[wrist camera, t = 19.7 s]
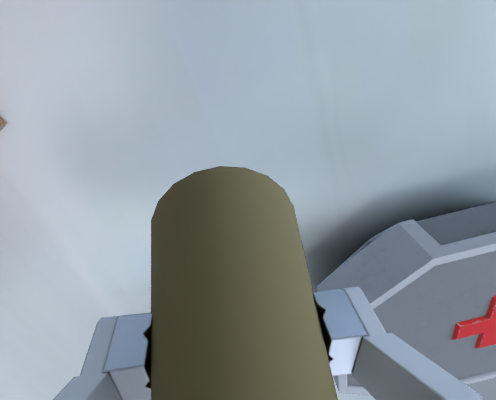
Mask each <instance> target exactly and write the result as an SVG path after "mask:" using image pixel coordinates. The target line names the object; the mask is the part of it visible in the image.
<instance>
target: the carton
mask: <svg viewBox="0 0 496 400" xmlns="http://www.w3.org/2000/svg"><path fill="white" fill-rule="evenodd" d="M6 124H7V122H5V121H4V120H3V119H1V118H0V131H1V130H2V128H3V127H4V126H5V125H6Z"/></svg>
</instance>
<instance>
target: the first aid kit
mask: <svg viewBox="0 0 496 400" xmlns="http://www.w3.org/2000/svg"><path fill="white" fill-rule="evenodd" d="M350 287H359V288H360V289H361V290H362V291H363V293H364V295H365V296H366V298H367V300H368V302H369V303H370V305H371V307H372V309H373V310H374V312H375V314H376V315H377V317H378V319H379V321H380V322H381V324H382V326H383V328H384V329H385V331H386V333H393V334H394V335H396V336H397V337H398V338H400V339H401V340H403V341H404V342H406V343H407V344H408V345H410V346H411V347H413V348H414V349H416V350H417V351H418V352H420V353H421V354H423V355H424V356H425V357H427V358H428V359H430V360H431V361H433V362H434V363H435V364H437V365H438V366H440V367H441V368H443V369H444V370H445V371H447V372H448V373H450V374H451V375H452V376H454V377H455V378H457V379H458V380H460V381H461V382H462V383H464V384H465V385H467V384H471V383H475V382H479V381H482V380H487V379H491V378H495V377H496V202H493V203H489V204H485V205H481V206H477V207H473V208H469V209H465V210H461V211H457V212H453V213H449V214H444V215H440V216H436V217H432V218H428V219H424V220H420V221H415V220H413V219H412V220H408V221H403V222H399V223H397V224H395V225H393V226H391V227H390V228H388V229H386V230H384V231H382V232H380V233H378V234H377V235H375V236H373V237H371V238H370V239H369V240H368V241H367V242H366V243H364V244H363V245H362V246H361V247H360V248H359V249H358V250H357V251H356V252H354V253H353V254H352V255H351V256H350V257H349V258H348V259H347V260H345V261H344V262H343V263H342V264H341V265H340V266H339V267H338V268H337V269H335V270H334V271H333V272H332V273H331V274H330V275H329V276H328V277H327V278H325V279H324V280H323V281H322V282H321V283H320V284H319V285H318V286H317V291H325V290H332V289H339V288H341V289H342V288H350ZM333 377H334V379H335V382H336V385H337V388H338V390H339V393H346V394H357V395H367V396H372V395H371V394H370V393H369V392H368V391H367V390H366V389H365V388H364V387H363V386H362V385H361V384H360V383H359V382H358V381H357V380H356V379H355V378H354V377H353V376H352V374H345V375H337V376H333Z"/></svg>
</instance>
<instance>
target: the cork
mask: <svg viewBox="0 0 496 400" xmlns="http://www.w3.org/2000/svg"><path fill="white" fill-rule="evenodd" d="M151 313H152V315H153V317H152V329H151V400H338V399H337V394H336V391H335V385H334V381H333V377H332V372H331V368H330V364H329V359H328V355H327V351H326V346H325V342H324V337H323V333H322V329H321V324H320V320H319V316H318V311H317V307H316V304H315V300H314V297H313V289H312V285H311V281H310V276H309V272H308V267H307V263H306V259H305V254H304V250H303V246H302V241H301V237H300V233H299V228H298V224H297V219H296V215H295V211H294V206H293V204H292V203H291V201H290V199H289V197H288V196H287V194H286V192H285V190H284V189H283V188H282V187H280V186H279V185H278V184H277V183H275V182H274V181H273V180H272V179H271V178H269V177H268V176H266V175H263V174H261V173H258V172H255V171H253V170H250V169H247V168H239V167H222V166H219V167H215V168H211V169H206V170H202V171H198V172H194V173H192V174H191V175H189V176H187V177H185V178H184V179H182V180H180V181H178V182H177V183H175V184H173V185H172V187H171V188H170V189H169V190H168V191H167V192H166V193H165V194H164V195H163V197H162V198H161V199H160V200H159V201H158V204H157V206H156V209H155V212H154V214H153V217H152V220H151Z"/></svg>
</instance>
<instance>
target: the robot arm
mask: <svg viewBox="0 0 496 400" xmlns="http://www.w3.org/2000/svg"><path fill="white" fill-rule="evenodd" d="M313 297H314V300H315V304H316V307H317V311H318V316H319V320H320V324H321V329H322V333H323V337H324V342H325V346H326V351H327V355H328V359H329V364H330V368H331V372H332V376H337V375H345V374H352V376H353V377H354V378H355V379H356V380H357V381H358V382H359V383H360V384H361V385H362V386H363V387H364V388H365V389H366V390H367V391H368V392H369V393H370V394H371V395H372V396H373V397H374V398H375V399H376V400H483V398H482V397H481V395H479V394H478V393H477V392H475V391H474V390H472V389H471V388H469V387H468V386H467V385H465V384H464V383H462V382H461V381H460V380H458V379H457V378H455V377H454V376H452V375H451V374H450V373H448V372H447V371H445V370H444V369H443V368H441V367H440V366H438V365H437V364H435V363H434V362H433V361H431V360H430V359H428V358H427V357H425V356H424V355H423V354H421V353H420V352H418V351H417V350H416V349H414V348H413V347H411V346H410V345H408V344H407V343H406V342H404V341H403V340H401V339H400V338H398V337H397V336H396V335H394V334H393V333H386V331H385V329H384V328H383V326H382V324H381V322H380V321H379V319H378V317H377V315H376V314H375V312H374V310H373V309H372V307H371V305H370V303H369V302H368V300H367V298H366V296H365V295H364V293H363V291H362V290H361V289H360V288H359V287H350V288H342V289H341V288H339V289H332V290H325V291H317V292H313ZM152 317H153V315H152V313H143V314H133V315H123V316H113V317H105V318H101V319H100V320H99V322H98V323H97V325H96V328H95V331H94V334H93V337H92V340H91V343H90V346H89V349H88V352H87V355H86V358H85V362H84V365H83V368H82V371H81V374H80V376H78V377H74V378H73V379H72V380H71V381H70V382H69V383H68V384H67V385H66V386H65V387H64V388H63V389H62V390H61V392H60V393H59V394H58V395H57V396H56V397H55V398H54V399H53V400H151V329H152Z"/></svg>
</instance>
